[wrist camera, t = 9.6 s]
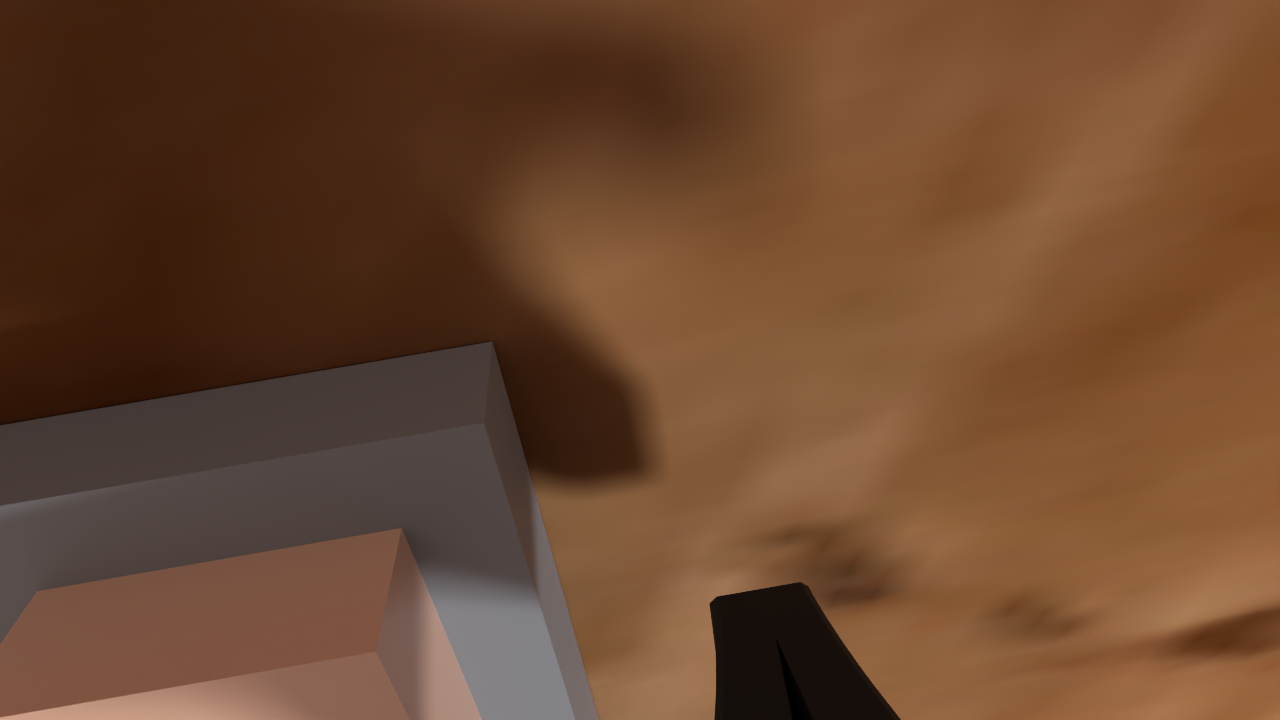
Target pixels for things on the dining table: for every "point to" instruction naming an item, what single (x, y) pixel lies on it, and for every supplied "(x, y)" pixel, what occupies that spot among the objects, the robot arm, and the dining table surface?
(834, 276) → the dining table surface
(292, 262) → the dining table surface
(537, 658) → the board
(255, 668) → the terracotta tile
